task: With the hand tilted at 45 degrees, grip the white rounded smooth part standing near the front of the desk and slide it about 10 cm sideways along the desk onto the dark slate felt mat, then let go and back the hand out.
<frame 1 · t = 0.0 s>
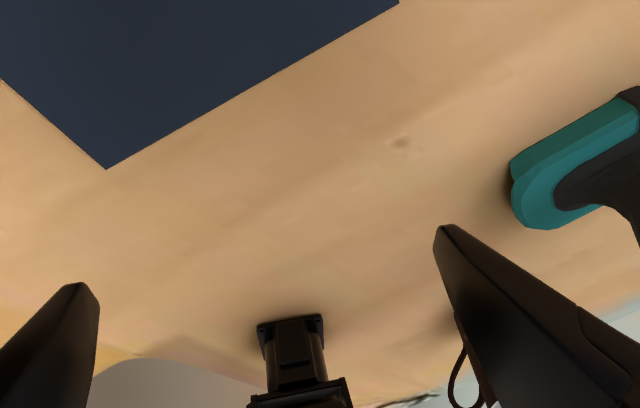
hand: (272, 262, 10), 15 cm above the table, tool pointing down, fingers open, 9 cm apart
power drill: (553, 171, 31), on the table
coffee mug: (467, 310, 43), on the table
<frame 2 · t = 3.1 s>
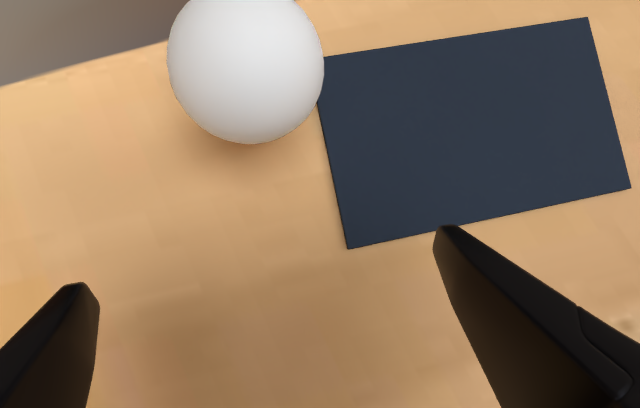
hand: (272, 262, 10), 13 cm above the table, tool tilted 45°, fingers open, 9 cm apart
white rounded smooth part: (259, 125, 23), on the table
felt mat: (473, 127, 25), on the table
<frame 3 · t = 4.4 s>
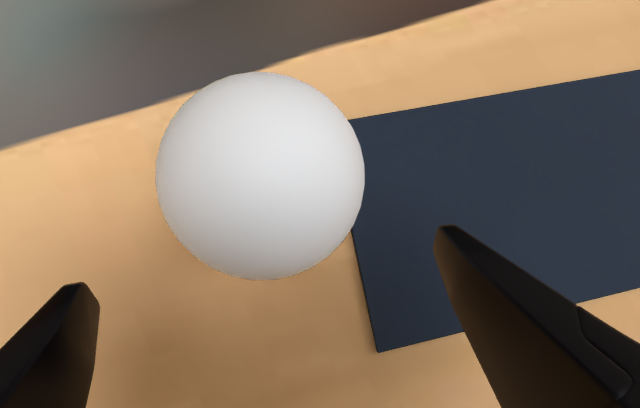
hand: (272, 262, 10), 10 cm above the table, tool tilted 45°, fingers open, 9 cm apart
white rounded smooth part: (270, 202, 20), on the table
felt mat: (523, 199, 21), on the table
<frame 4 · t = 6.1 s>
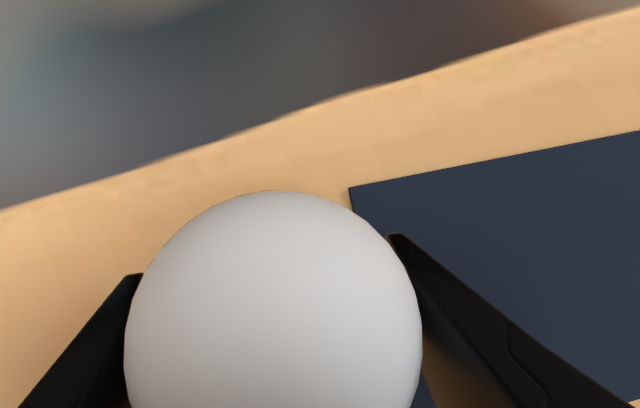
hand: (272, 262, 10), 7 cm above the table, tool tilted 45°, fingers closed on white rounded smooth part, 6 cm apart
white rounded smooth part: (279, 283, 16), on the table, touching gripper
felt mat: (576, 274, 18), on the table
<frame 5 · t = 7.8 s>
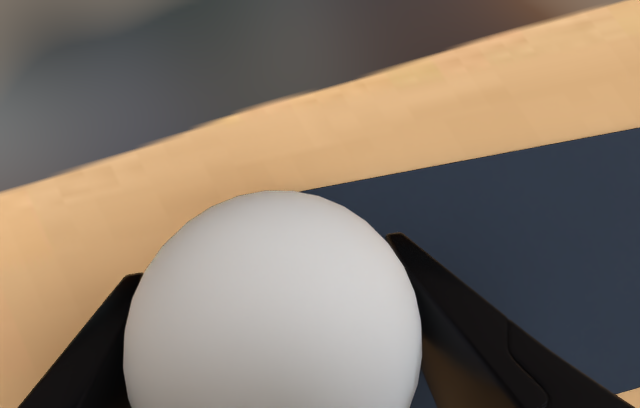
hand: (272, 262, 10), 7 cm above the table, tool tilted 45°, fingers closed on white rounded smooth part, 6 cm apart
white rounded smooth part: (279, 283, 16), on the table, touching gripper
felt mat: (499, 285, 18), on the table
when the fingers open (7 cm above the table, at t = 9.9 s): white rounded smooth part stays where it is, resting on felt mat.
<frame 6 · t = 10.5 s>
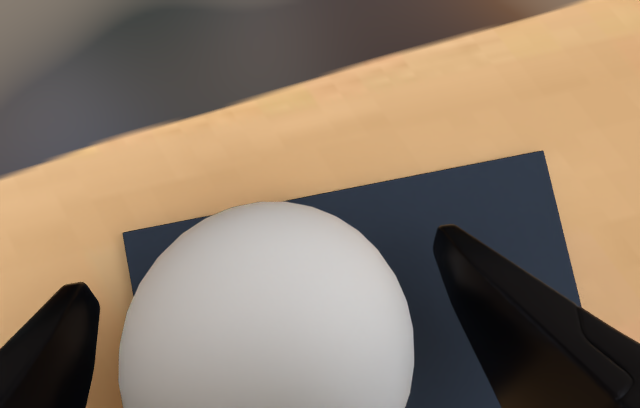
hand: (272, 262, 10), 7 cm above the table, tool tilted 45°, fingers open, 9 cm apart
white rounded smooth part: (276, 288, 17), resting on felt mat
felt mat: (373, 320, 17), on the table
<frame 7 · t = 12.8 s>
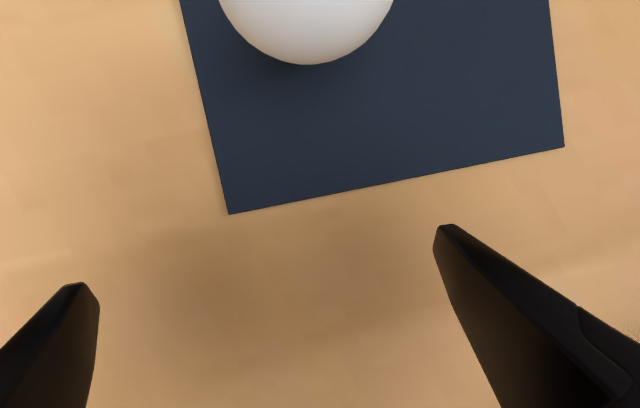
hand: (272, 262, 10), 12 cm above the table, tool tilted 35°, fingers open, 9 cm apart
white rounded smooth part: (301, 42, 20), resting on felt mat
felt mat: (380, 73, 21), on the table
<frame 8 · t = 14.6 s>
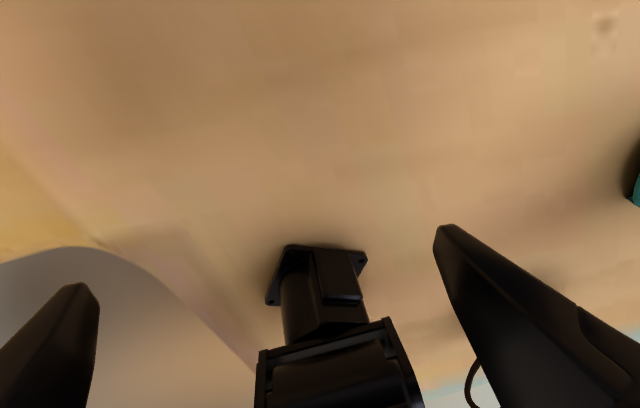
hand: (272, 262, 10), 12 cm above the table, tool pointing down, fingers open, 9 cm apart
coffee mug: (495, 302, 38), on the table
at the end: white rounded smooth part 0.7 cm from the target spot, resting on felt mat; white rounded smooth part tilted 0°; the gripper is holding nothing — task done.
